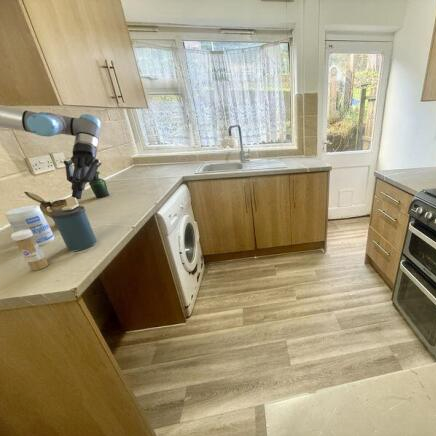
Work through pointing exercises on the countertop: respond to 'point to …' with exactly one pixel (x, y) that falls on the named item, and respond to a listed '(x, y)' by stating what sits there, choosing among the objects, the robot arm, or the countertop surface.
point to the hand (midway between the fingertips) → (76, 197)
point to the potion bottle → (99, 186)
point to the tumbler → (74, 228)
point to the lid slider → (70, 204)
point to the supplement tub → (31, 223)
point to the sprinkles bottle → (30, 249)
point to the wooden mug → (47, 204)
